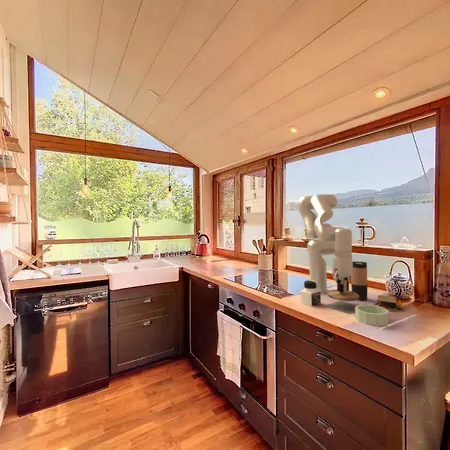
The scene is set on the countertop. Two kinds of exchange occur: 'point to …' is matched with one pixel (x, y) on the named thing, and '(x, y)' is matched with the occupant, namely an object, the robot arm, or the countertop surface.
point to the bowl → (372, 315)
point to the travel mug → (359, 280)
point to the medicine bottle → (310, 294)
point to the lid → (343, 294)
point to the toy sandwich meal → (389, 303)
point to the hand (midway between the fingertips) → (343, 290)
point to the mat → (342, 307)
